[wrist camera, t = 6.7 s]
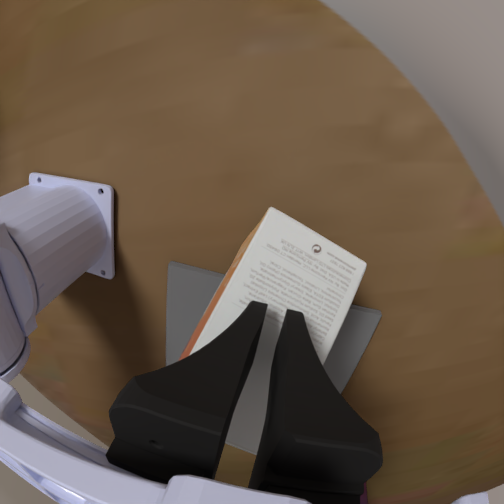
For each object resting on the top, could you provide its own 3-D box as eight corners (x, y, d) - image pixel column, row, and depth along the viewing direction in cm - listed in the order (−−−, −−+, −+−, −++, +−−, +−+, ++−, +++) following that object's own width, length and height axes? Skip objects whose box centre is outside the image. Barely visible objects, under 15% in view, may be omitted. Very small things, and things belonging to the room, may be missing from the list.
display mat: (168, 403, 32) (166, 407, 31) (171, 260, 24) (168, 264, 23) (311, 438, 30) (310, 442, 30) (380, 310, 22) (381, 315, 22)
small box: (272, 200, 14) (155, 414, 12) (372, 262, 15) (271, 464, 12) (241, 240, 22) (166, 377, 19) (311, 280, 22) (241, 414, 20)
